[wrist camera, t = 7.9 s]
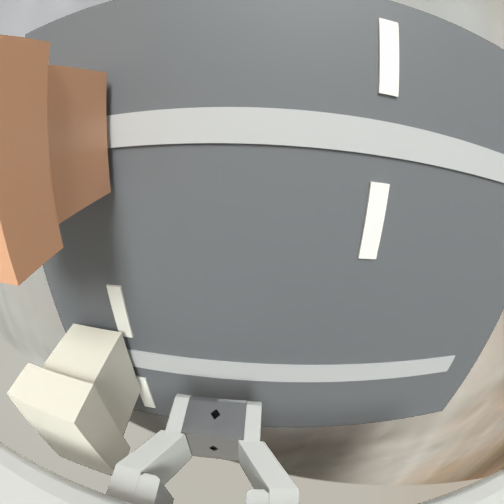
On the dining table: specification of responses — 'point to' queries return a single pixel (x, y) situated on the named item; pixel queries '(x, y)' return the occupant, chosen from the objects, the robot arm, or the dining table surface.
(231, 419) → the robot arm
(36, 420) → the cream fader
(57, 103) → the terracotta fader
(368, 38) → the console
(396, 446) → the dining table surface
